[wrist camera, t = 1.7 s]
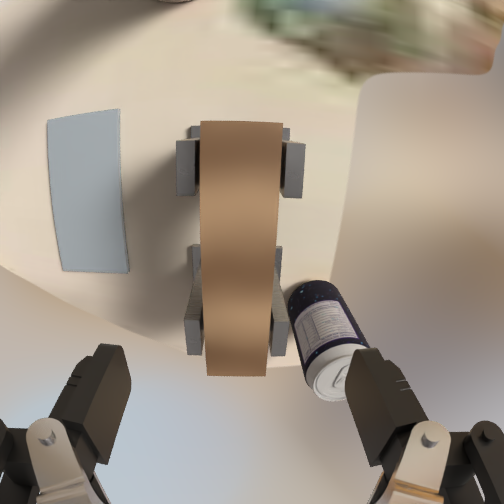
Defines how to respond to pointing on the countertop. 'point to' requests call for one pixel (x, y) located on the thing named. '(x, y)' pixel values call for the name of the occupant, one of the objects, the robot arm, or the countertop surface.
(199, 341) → the grey bracket
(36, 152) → the countertop surface
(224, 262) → the rail
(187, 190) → the grey metal bracket
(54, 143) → the mat
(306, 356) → the beverage can
